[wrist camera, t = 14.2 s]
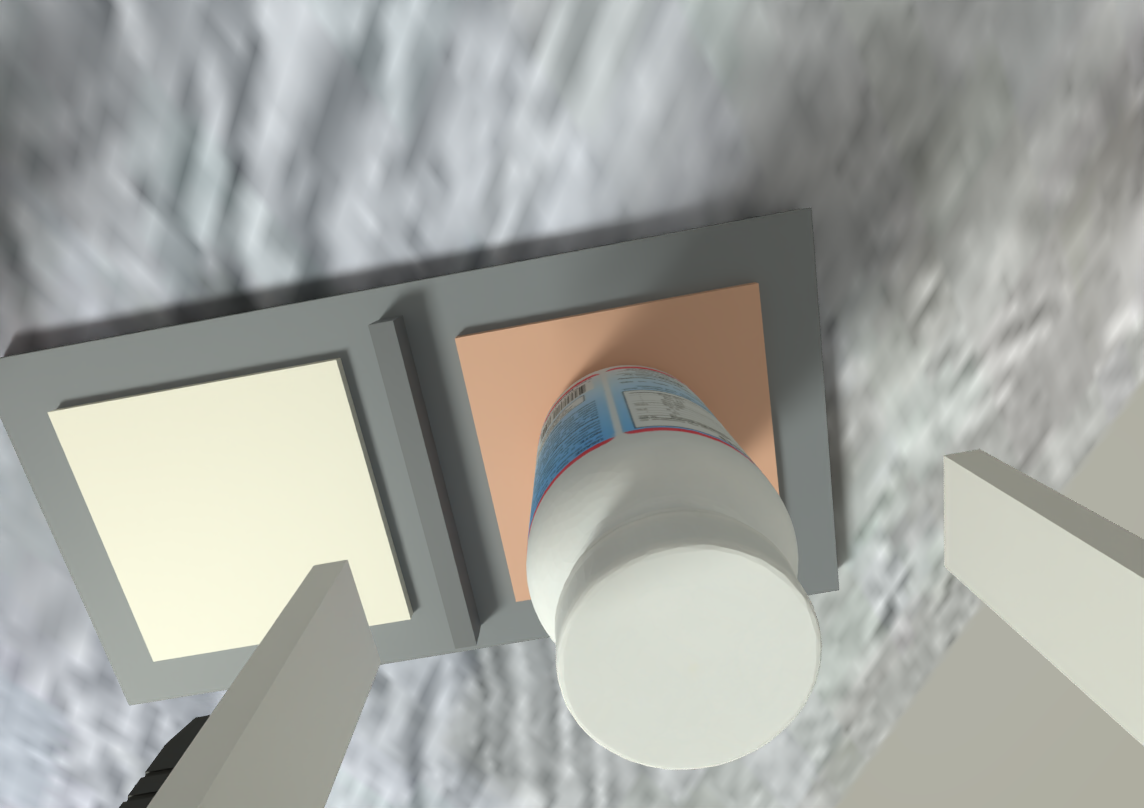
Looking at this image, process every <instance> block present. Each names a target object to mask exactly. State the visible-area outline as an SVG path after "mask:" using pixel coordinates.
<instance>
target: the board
mask: <svg viewBox="0 0 1144 808" xmlns="http://www.w3.org/2000/svg"><path fill="white" fill-rule="evenodd" d="M620 365H639V366H646V367H650V368H655V369H657V370H660V371H663V372H666V373H668V374H670V375H672V376H673V377H675V378H677V379H678V380H680V381H681V382H683V383H684V384H685V385H686V386H688V387H689V388H690V389H691V390H692V391H693V392H694V393H695V394H696V395H697V396H698V397H699V398H700V400H701V401H702V402H703V403H704V404H705V405H706V407H707V408H708V409H709V410H710V411H711V412H712V414H713V415H714V416H715V417H716V418H717V420H718V421H719V422H720V423H721V424H722V425H723V427H724V428H725V429H726V430H727V431H728V433H729V434H730V435H731V436H732V437H733V438H734V440H735V441H736V442H737V443H738V444H739V446H740V447H741V448H742V449H743V450H744V451H745V453H746V454H747V455H748V456H749V457H750V459H751V460H752V461H753V462H754V463H755V464H756V466H757V467H758V468H759V469H760V470H761V471H762V473H763V474H764V475H765V476H766V477H767V479H768V480H769V482H770V483H771V484H772V486H773V487H774V489H775V490H776V491H777V493H778V494H779V496H780V498H781V500H782V501H783V503H784V505H785V507H786V509H787V512H788V514H789V516H790V518H791V522H792V525H793V528H794V531H795V536H796V541H797V548H798V575H797V579H798V581H799V583H800V584H801V586H802V587H803V589H804V591H805V592H806V594H807V595H812V594H818V593H825V592H831V591H837V590H839V581H838V567H837V554H836V540H835V526H834V512H833V499H832V485H831V471H830V457H829V444H828V430H827V416H826V402H825V389H824V375H823V361H822V347H821V334H820V320H819V306H818V292H817V279H816V265H815V251H814V237H813V224H812V210H811V208H805V209H797V210H792V211H786V212H781V213H775V214H770V215H765V216H759V217H754V218H748V219H743V220H738V221H732V222H727V223H722V224H716V225H711V226H705V227H700V228H695V229H689V230H684V231H678V232H673V233H668V234H662V235H657V236H652V237H646V238H641V239H635V240H630V241H625V242H619V243H614V244H608V245H603V246H598V247H592V248H587V249H581V250H576V251H571V252H565V253H560V254H555V255H549V256H544V257H538V258H533V259H528V260H522V261H517V262H511V263H506V264H501V265H495V266H490V267H485V268H479V269H474V270H468V271H463V272H458V273H452V274H447V275H441V276H436V277H431V278H425V279H420V280H415V281H409V282H404V283H398V284H393V285H388V286H382V287H377V288H371V289H366V290H361V291H355V292H350V293H345V294H339V295H334V296H328V297H323V298H318V299H312V300H307V301H301V302H296V303H291V304H285V305H280V306H275V307H269V308H264V309H258V310H253V311H248V312H242V313H237V314H231V315H226V316H221V317H215V318H210V319H205V320H199V321H194V322H188V323H183V324H178V325H172V326H167V327H161V328H156V329H151V330H145V331H140V332H135V333H129V334H124V335H118V336H113V337H108V338H102V339H97V340H91V341H86V342H81V343H75V344H70V345H65V346H59V347H54V348H48V349H43V350H38V351H32V352H27V353H21V354H16V355H11V356H5V357H0V418H1V420H2V422H3V425H4V427H5V429H6V431H7V434H8V436H9V438H10V440H11V442H12V445H13V447H14V449H15V451H16V454H17V456H18V458H19V460H20V463H21V465H22V467H23V469H24V472H25V474H26V476H27V478H28V480H29V483H30V485H31V487H32V489H33V492H34V494H35V496H36V498H37V501H38V503H39V505H40V507H41V509H42V512H43V514H44V516H45V518H46V521H47V523H48V525H49V527H50V530H51V532H52V534H53V536H54V539H55V541H56V543H57V545H58V547H59V550H60V552H61V554H62V556H63V559H64V561H65V563H66V565H67V568H68V570H69V572H70V574H71V577H72V579H73V581H74V583H75V585H76V588H77V590H78V592H79V594H80V597H81V599H82V601H83V603H84V606H85V608H86V610H87V612H88V614H89V617H90V619H91V621H92V623H93V626H94V628H95V630H96V632H97V635H98V637H99V639H100V641H101V644H102V646H103V648H104V650H105V652H106V655H107V657H108V659H109V661H110V664H111V666H112V668H113V670H114V673H115V675H116V677H117V679H118V682H119V684H120V686H121V688H122V690H123V693H124V695H125V697H126V699H127V702H128V704H129V705H135V704H141V703H148V702H154V701H160V700H166V699H172V698H178V697H184V696H191V695H197V694H203V693H209V692H215V691H221V690H228V689H229V687H230V686H231V685H232V683H233V682H234V680H235V679H236V677H237V676H238V674H239V673H240V672H241V670H242V669H243V667H244V666H245V664H246V663H247V661H248V660H249V658H250V657H251V656H252V654H253V653H254V651H255V650H256V648H257V647H258V645H259V644H260V643H261V641H262V640H263V638H264V637H265V635H266V634H267V632H268V631H269V629H270V628H271V627H272V625H273V624H274V622H275V621H276V619H277V618H278V616H279V615H280V614H281V612H282V611H283V609H284V608H285V606H286V605H287V603H288V602H289V601H290V599H291V598H292V596H293V595H294V593H295V592H296V590H297V589H298V587H299V586H300V585H301V583H302V582H303V580H304V579H305V577H306V576H307V574H308V573H309V572H310V570H311V569H312V567H313V566H314V565H319V564H325V563H330V562H336V561H342V560H348V562H349V565H350V569H351V572H352V575H353V578H354V581H355V584H356V587H357V590H358V593H359V596H360V600H361V603H362V606H363V609H364V612H365V615H366V618H367V621H368V624H369V627H370V631H371V634H372V637H373V640H374V643H375V646H376V649H377V652H378V655H379V658H380V662H381V663H380V665H381V664H388V663H394V662H400V661H406V660H412V659H418V658H425V657H431V656H437V655H443V654H449V653H455V652H461V651H468V650H474V649H480V648H486V647H492V646H498V645H505V644H511V643H517V642H523V641H529V640H535V639H541V638H548V637H550V636H549V635H548V633H547V632H546V631H545V629H544V627H543V626H542V624H541V622H540V620H539V618H538V616H537V614H536V611H535V609H534V606H533V604H532V600H531V597H530V593H529V588H528V583H527V571H526V560H527V543H528V532H529V523H530V514H531V505H532V497H533V487H534V478H535V468H536V458H537V449H538V442H539V437H540V433H541V429H542V426H543V423H544V421H545V418H546V416H547V414H548V412H549V410H550V409H551V407H552V406H553V404H554V403H555V401H556V400H557V399H558V398H559V396H560V395H561V394H562V393H563V392H564V391H565V390H566V389H567V388H569V387H570V386H571V385H572V384H573V383H575V382H576V381H578V380H579V379H581V378H583V377H585V376H586V375H588V374H591V373H593V372H595V371H598V370H601V369H605V368H608V367H613V366H620Z"/></svg>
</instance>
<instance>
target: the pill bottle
mask: <svg viewBox="0 0 1144 808" xmlns="http://www.w3.org/2000/svg"><path fill="white" fill-rule="evenodd" d="M526 571H527V583H528V588H529V593H530V597H531V600H532V604H533V606H534V609H535V611H536V614H537V616H538V618H539V620H540V622H541V624H542V626H543V627H544V629H545V631H546V632H547V633H548V635H549V636H550V638H551V639H552V640H553V641H554V643H555V644H556V669H557V676H558V682H559V686H560V689H561V692H562V695H563V697H564V700H565V703H566V706H567V708H568V709H569V711H570V712H571V714H572V715H573V717H574V718H575V720H576V721H577V723H578V724H579V726H580V727H581V728H582V729H583V730H584V731H585V732H586V733H587V734H588V735H589V736H590V737H591V738H592V739H594V740H595V741H596V742H597V743H598V744H600V745H601V746H603V747H604V748H606V749H608V750H609V751H611V752H613V753H615V754H617V755H619V756H620V757H622V758H624V759H626V760H629V761H633V762H636V763H639V764H642V765H646V766H649V767H656V768H662V769H671V770H683V769H700V768H706V767H712V766H717V765H721V764H724V763H728V762H731V761H734V760H736V759H739V758H741V757H743V756H745V755H747V754H749V753H752V752H754V751H756V750H757V749H759V748H761V747H762V746H764V745H765V744H767V743H769V742H770V741H771V740H772V739H773V738H775V737H776V736H777V735H778V734H779V733H781V732H782V731H783V730H784V729H785V728H786V727H787V726H788V725H789V724H790V723H791V722H792V721H793V720H794V719H795V718H796V716H797V715H798V714H799V713H800V711H801V710H802V708H803V707H804V706H805V704H806V701H807V700H808V698H809V696H810V694H811V692H812V690H813V687H814V685H815V683H816V679H817V675H818V671H819V667H820V662H821V648H822V641H821V634H820V627H819V623H818V619H817V616H816V613H815V611H814V608H813V605H812V603H811V601H810V599H809V597H808V595H807V594H806V592H805V591H804V589H803V587H802V586H801V584H800V583H799V581H798V579H797V575H798V548H797V541H796V536H795V531H794V528H793V525H792V522H791V518H790V516H789V514H788V512H787V509H786V507H785V505H784V503H783V501H782V500H781V498H780V496H779V494H778V493H777V491H776V490H775V489H774V487H773V486H772V484H771V483H770V482H769V480H768V479H767V477H766V476H765V475H764V474H763V473H762V471H761V470H760V469H759V468H758V467H757V466H756V464H755V463H754V462H753V461H752V460H751V459H750V457H749V456H748V455H747V454H746V453H745V451H744V450H743V449H742V448H741V447H740V446H739V444H738V443H737V442H736V441H735V440H734V438H733V437H732V436H731V435H730V434H729V433H728V431H727V430H726V429H725V428H724V427H723V425H722V424H721V423H720V422H719V421H718V420H717V418H716V417H715V416H714V415H713V414H712V412H711V411H710V410H709V409H708V408H707V407H706V405H705V404H704V403H703V402H702V401H701V400H700V398H699V397H698V396H697V395H696V394H695V393H694V392H693V391H692V390H691V389H690V388H689V387H688V386H686V385H685V384H684V383H683V382H681V381H680V380H678V379H677V378H675V377H673V376H672V375H670V374H668V373H666V372H663V371H660V370H657V369H655V368H650V367H646V366H639V365H620V366H613V367H608V368H605V369H601V370H598V371H595V372H593V373H591V374H588V375H586V376H585V377H583V378H581V379H579V380H578V381H576V382H575V383H573V384H572V385H571V386H570V387H569V388H567V389H566V390H565V391H564V392H563V393H562V394H561V395H560V396H559V398H558V399H557V400H556V401H555V403H554V404H553V406H552V407H551V409H550V410H549V412H548V414H547V416H546V418H545V421H544V423H543V426H542V429H541V433H540V437H539V442H538V449H537V458H536V468H535V478H534V487H533V497H532V505H531V514H530V523H529V532H528V543H527V560H526Z"/></svg>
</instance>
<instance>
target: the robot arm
mask: <svg viewBox="0 0 1144 808" xmlns="http://www.w3.org/2000/svg"><path fill="white" fill-rule="evenodd" d="M944 567H945V568H946V569H948V570H949V571H950V572H951V573H952V574H953V575H954V576H955V577H956V578H958V579H959V580H960V581H961V582H962V583H963V584H964V585H965V586H966V587H967V588H969V589H970V590H971V591H972V592H973V593H974V594H975V595H976V596H977V597H979V598H980V599H981V600H982V601H983V602H984V603H985V604H986V605H988V606H989V607H990V608H991V609H992V610H993V611H994V612H996V614H997V615H999V616H1000V617H1001V618H1002V619H1003V620H1004V621H1005V622H1006V623H1008V624H1009V625H1010V626H1011V627H1012V628H1013V629H1014V630H1015V631H1016V632H1018V633H1019V634H1020V635H1021V636H1022V637H1023V638H1024V639H1025V640H1026V641H1028V642H1029V643H1030V644H1031V645H1032V646H1033V647H1034V648H1035V649H1036V650H1037V651H1039V652H1040V653H1041V654H1042V655H1043V656H1044V657H1045V658H1046V659H1047V660H1049V661H1050V662H1051V663H1052V664H1053V665H1054V666H1055V667H1056V668H1057V669H1058V670H1060V671H1061V672H1062V673H1063V674H1064V675H1065V676H1066V677H1067V678H1068V679H1070V680H1071V681H1072V682H1073V683H1074V684H1076V686H1077V687H1078V688H1080V689H1081V690H1082V691H1083V692H1084V693H1085V694H1086V695H1087V696H1088V697H1090V698H1091V699H1092V700H1093V701H1094V702H1095V703H1096V704H1097V705H1099V706H1100V707H1101V708H1102V709H1103V710H1104V711H1105V712H1106V713H1107V714H1108V715H1110V716H1111V717H1112V718H1113V719H1114V720H1115V721H1116V722H1117V723H1118V724H1120V725H1121V726H1122V727H1123V728H1124V729H1125V730H1126V731H1127V732H1129V733H1130V734H1131V735H1132V736H1133V737H1134V738H1135V739H1136V740H1137V741H1138V742H1140V743H1141V744H1142V745H1143V746H1144V539H1142V538H1140V537H1138V536H1137V535H1135V534H1133V533H1131V532H1129V531H1128V530H1126V529H1124V528H1122V527H1120V526H1118V525H1117V524H1115V523H1113V522H1111V521H1109V520H1108V519H1106V518H1104V517H1102V516H1100V515H1098V514H1097V513H1095V512H1093V511H1091V510H1089V509H1087V508H1086V507H1084V506H1082V505H1080V504H1078V503H1077V502H1075V501H1073V500H1071V499H1069V498H1067V497H1066V496H1064V495H1062V494H1060V493H1058V492H1057V491H1055V490H1053V489H1051V488H1049V487H1048V486H1046V485H1044V484H1042V483H1040V482H1038V481H1037V480H1035V479H1033V478H1031V477H1029V476H1027V475H1026V474H1024V473H1022V472H1020V471H1018V470H1017V469H1015V468H1013V467H1011V466H1009V465H1007V464H1006V463H1004V462H1002V461H1000V460H998V459H997V458H995V457H993V456H991V455H989V454H987V453H986V452H984V451H982V450H980V449H978V450H972V451H966V452H960V453H955V454H949V455H944ZM380 663H381V662H380V658H379V655H378V652H377V649H376V646H375V643H374V640H373V637H372V634H371V631H370V627H369V624H368V621H367V618H366V615H365V612H364V609H363V606H362V603H361V600H360V596H359V593H358V590H357V587H356V584H355V581H354V578H353V575H352V572H351V569H350V565H349V562H348V560H342V561H336V562H330V563H325V564H319V565H314V566H313V567H312V569H311V570H310V572H309V573H308V574H307V576H306V577H305V579H304V580H303V582H302V583H301V585H300V586H299V587H298V589H297V590H296V592H295V593H294V595H293V596H292V598H291V599H290V601H289V602H288V603H287V605H286V606H285V608H284V609H283V611H282V612H281V614H280V615H279V616H278V618H277V619H276V621H275V622H274V624H273V625H272V627H271V628H270V629H269V631H268V632H267V634H266V635H265V637H264V638H263V640H262V641H261V643H260V644H259V645H258V647H257V648H256V650H255V651H254V653H253V654H252V656H251V657H250V658H249V660H248V661H247V663H246V664H245V666H244V667H243V669H242V670H241V672H240V673H239V674H238V676H237V677H236V679H235V680H234V682H233V683H232V685H231V686H230V687H229V689H228V690H227V692H226V693H225V695H224V696H223V698H222V699H221V701H220V702H219V703H218V705H217V706H216V708H215V709H214V711H213V712H212V714H211V715H208V716H203V717H197V718H195V719H193V720H192V721H191V722H190V723H189V724H188V725H187V726H186V727H184V728H183V729H182V730H181V731H180V732H179V733H178V734H177V735H175V736H174V737H173V738H172V739H171V740H170V741H169V742H168V743H167V744H166V745H165V746H164V747H163V749H162V750H161V752H160V753H159V754H158V756H157V757H156V758H155V760H154V761H153V762H152V764H151V765H150V766H149V768H148V769H147V771H146V772H145V773H146V775H145V777H143V778H141V779H140V780H139V781H138V783H137V784H136V785H135V787H134V788H133V790H132V791H131V792H130V794H129V795H128V800H127V802H123V803H122V804H121V806H120V807H119V808H324V807H325V804H326V802H327V799H328V797H329V794H330V791H331V789H332V786H333V784H334V781H335V779H336V776H337V773H338V771H339V768H340V766H341V763H342V761H343V758H344V756H345V753H346V750H347V748H348V745H349V743H350V740H351V738H352V735H353V732H354V730H355V727H356V725H357V722H358V720H359V717H360V715H361V712H362V709H363V707H364V704H365V702H366V699H367V697H368V694H369V691H370V689H371V686H372V684H373V681H374V679H375V676H376V673H377V671H378V668H379V666H380Z"/></svg>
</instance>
